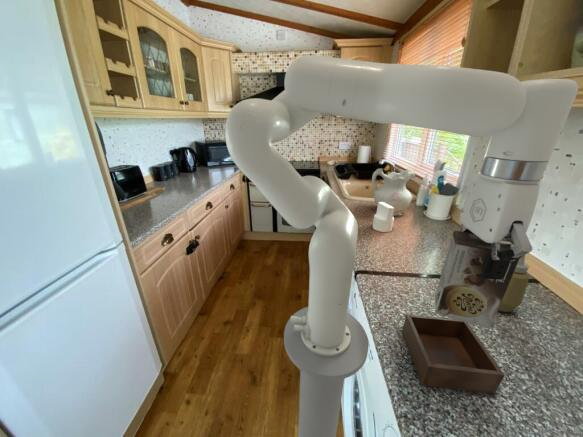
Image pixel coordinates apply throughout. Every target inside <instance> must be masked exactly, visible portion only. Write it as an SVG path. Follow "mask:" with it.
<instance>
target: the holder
mask: <svg viewBox="0 0 583 437" xmlns="http://www.w3.org/2000/svg"><path fill="white" fill-rule="evenodd" d="M404 318H405V319H404V322H403V327H402V329H401V330H402V331H401V332H402V335H403V337H404V340H405V342H406V345H407V348H408V351H409V353H410V357H411V359H412V361H413V364H414V367H415V369H416V372H417V375H418V378H419V380H420V384H421V386H423V387H431V388H441V389H449V390H457V391H464V392H473V393H481V394H490V395H495V394H496V393H497V391H498V389H499V387H500V386H501V383H502V382H503V379H504V378H505V374H504V372H503V371H502V369H501V368H500V366H499V365H498V363H497V362H496V361H495V358H494V357H493V356H492V355H491V354H490V352H489V351H488V349H487V348H486V346H485V345H484V344H483V342H482V340H480V338H479V337H478V335H477V334H476V332H475V331H474V329H473V328H472V327H471V325H470V323H468V322H464V321H461V320H458V319H454V318H451V317H441V316H430V315H420V314H405V317H404Z"/></svg>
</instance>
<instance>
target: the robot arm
mask: <svg viewBox="0 0 583 437" xmlns="http://www.w3.org/2000/svg"><path fill="white" fill-rule="evenodd" d="M283 85H284V90H282V91H281V92H280V93H279V94H278V95H277V96H275V97H274V98H273V99H271V100H270V99H265V98H258V97H257V98H247V99H244V100H241V101H239V102H238V103H236V104H235V105H234V106H233V107H232V108H231V110H230V111H229V112H228V115H227V117H226V120H225V127H224V138H225V144H226V148H227V151H228V153H229V156H230V158H231V159H232V161H233V163H234V164H235V165H236V167H237V168H238V169H239V171H241V172H242V174H244V176H246V178H247V179H249V181H250V182H251V183H252V184H253V185H254V186H255V187H256V188H257V189H258V190H259V192H260V193H261V194H262V196H263V197H264V198H265V199H266V200H267V201H268V202H269V204H270V205H271V206H272V207H273V208H274V210H276V212H278V214H279V216H281V217H282V218H283V219H284V220H285V221H286V223H287V224H288V225H290V226H291V227H293V228H295V229H297V230H306V229H309V228H311V227H312V226H314V227H315V230H314V231H313V234H312V236H311V239H310V242H309V246H308V265H309V278H308V279H309V282H308V286H309V287H308V302H307V304H308V306H307V307H308V312H307V316H303V317H298V316H293V315H290V318H291V319H290V318H289V319H290V324H302V326H299V325H294V331H301V337H302V340H303V343H304V344H305V346H306V347H307V348H308V349H309V350H310V351H312V352H313V353H315V354H317V355H320V356H325V357H334V356H338V355H340V354H342V353H343V352H345V351H346V350H347V348H348V347H349V344H350V340H351V335H350V331H349V328H348V327H347V325H346V320H347V313H349V305H350V298H351V297H350V296H351V288H352V282H353V280H352V279H353V272H354V265H355V261H356V253H357V244H358V234H359V226H358V225H359V224H358V221H357V219H356V217H355V215H354V214H353V213H352V212H351V210H350V209H349V208H348V206H346V204H345V203H344V202H343V201H342V200H341V199H340V197H339V196H338V195H337V193H336V192H335V191H334V190H333V189H332V188H331V186H330V185H328V184H327V183H326V182H325V181H324V180H323V179H321V178H319V177H318V176H315V175H305V176H302V175H301V174H300V173H299V172H298V171H297V170H296V168H294V167H293V165H292V164H291V162H290V161H288V159H286V157H285V156H283V154H281V153H279V151H277V150H276V149H275V148H274V146H273V144H275V143H279V142H282V141H283V140H284V141H285V140H286V139H287V138H289V137H290V136H292V135H293V134H295V133H296V132H297V131H298V130H300V129H302V128H303V127H304V126H306V125H307V124H309V123H310V122H311V121H313V120H314V119H316V118H317V117H318V116H320V115H321V114H324V115H329V116H336V117H341V118H347V119H352V120H358V121H363V122H369V123H375V124H384V125H385V124H388V125H389V124H390V125H391V124H393V125H394V124H395V125H403V126H410V127H417V128H423V129H428V130H434V131H441V132H445V133H446V132H447V133H451V134H456V135H462V136H463V135H464V136H467V137H474V138H485V137H490V139H489V142H488V145H487V148H486V151H485V155H484V157H483V160H482V163H481V167H480V170H479V172H478V173H477V175H476V176H475V178H474V180H473V181H472V184H471V186H470V188H469V191H468V193H467V195H466V198H465V200H464V203H463V206H462V207H461V208H460V214H459V222H460V224H461V226H460V228H459V231H461V232H467V233H473V234H475V235H476V236H478V237H479V238H480V239H482V240H483V241H485V242H487V243H491V256H492V257H487V260H486V262H485V265H484V267H483V270H482V273H481V276H482V277H483V278H484V279H496V280H501V279H503V277H504V275H505V273H506V270H507V268H508V266H509V263H510V261H515V259H519V258H521V257H522V256H524V255H525V256H526V255H528V254H529V253H531V252H533V246H532V244H531V241H530V240H529V237H528V235H527V232H528V229H529V226H530V225H531V221H532V219H533V216H534V213H535V209H536V206H537V202H538V199H539V198H538V197H539V193H540V188H541V184H540V183H541V181H542V178H543V176H544V173H545V171H546V169H547V166H548V165H549V163H550V162H549V161H550V160H551V157H552V154H553V153H554V151H555V148H556V146H557V143H558V140H559V138H560V136H561V133H562V131H563V129H564V127H565V124H566V122H567V119H568V116H569V115H570V111H571V109H572V107H573V105H574V102H575V100H576V97H577V95H578V92H579V85H578V83H577V82H576V81H575V80H573V79H569V78H539V79H530V80H524V81H520V80H519V79H518V78H516V76H514V75H511V74H509V73H506V72H500V71H494V70H488V69H479V68H469V67H461V66H451V65H437V64H436V65H434V64H405V63H386V62H385V63H384V62H376V61H375V62H374V61H366V60H365V61H364V60H356V59H348V58H341V57H335V56H334V57H333V56H326V55H316V54H307V55H306V54H305V55H302V56H299V57H297V58H295V59H294V60H293V61H292V62H291V63H290V64H289V66H288V67H287V69H286V72H285V75H284V84H283ZM502 239H504V240H506V241H504V240H502ZM500 245H505V248H506V250H504V251H501V252H500Z"/></svg>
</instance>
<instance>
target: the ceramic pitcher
mask: <svg viewBox="0 0 583 437" xmlns="http://www.w3.org/2000/svg"><path fill="white" fill-rule="evenodd" d="M383 170H384V168H380V167H379V168H377V169H376V170H375V171H374V172H372V177H371V184H372V188H373V190H374V192H373V196H374V197H373V198H374V204H375V205H376V206H378V202H385V203H387V204H388V205H390V206H392V207H394V212H393V216H395V217H396V216H402V215H403V213H402V211H404V210H406V209H407V208H409V206H410V204H411V202H412V200H413V199H412V197H413V196H412V194H411V192H410V191H409V190H408V189H407V186H406V185H407V183H408V182H409V180H410V179H412V178H415V177H416V173H415V172H414V171H411V170H408V169H404V170H403V169H402V170H401V171H400V172H396V171H391V172H390V173H388V174H386V173H384V171H383ZM377 176H381V177H382V179H383V184H382V186H381V187H379V188H378V184H377V181H376V180H377Z"/></svg>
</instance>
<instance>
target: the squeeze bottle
mask: <svg viewBox="0 0 583 437" xmlns="http://www.w3.org/2000/svg"><path fill="white" fill-rule="evenodd" d="M525 259H526V254H525V255H524V256H522V257H521V258H520V259H519V261H518V264H517V266H516V268H515V271H514V273H513V275H512V278H511V280H510V283H509V285H508V288H507V290H506V292H505V295H504V297H503V299H502V302H501V304H500V307H499V309H498V311H500V312H504V313H510V312H512V311H514V310H515V309H516V308H518V307H519V306H521V305H522V303H523V300H524V297H525V293H526V291H527V287H528V284H529V281H530V274H529V273H528V270H529V264H528V263H526V262H525V261H526V260H525Z"/></svg>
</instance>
